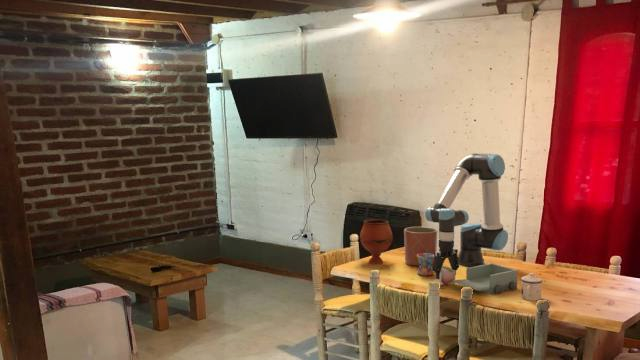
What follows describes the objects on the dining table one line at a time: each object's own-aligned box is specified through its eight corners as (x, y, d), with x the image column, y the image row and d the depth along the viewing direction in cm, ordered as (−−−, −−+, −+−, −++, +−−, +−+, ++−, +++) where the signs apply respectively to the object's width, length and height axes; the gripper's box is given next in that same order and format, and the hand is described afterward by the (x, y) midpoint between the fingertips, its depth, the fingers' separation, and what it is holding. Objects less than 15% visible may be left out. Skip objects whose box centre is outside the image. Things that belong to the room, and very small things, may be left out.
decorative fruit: (458, 284, 263) (458, 265, 262) (450, 288, 258) (450, 268, 257) (441, 280, 270) (442, 262, 269) (433, 284, 264) (433, 265, 263)
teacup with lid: (522, 293, 248) (523, 269, 247) (543, 296, 243) (543, 272, 242) (517, 300, 238) (517, 275, 236) (538, 304, 233) (539, 278, 232)
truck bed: (489, 279, 271) (489, 262, 271) (519, 288, 255) (520, 270, 254) (463, 284, 262) (464, 267, 262) (493, 295, 246) (494, 276, 245)
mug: (427, 277, 276) (427, 258, 275) (413, 274, 283) (413, 255, 282) (440, 273, 284) (440, 254, 283) (426, 270, 291) (426, 251, 290)
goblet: (394, 266, 299) (394, 223, 296) (361, 267, 299) (360, 224, 296) (390, 258, 318) (390, 218, 315) (359, 258, 318) (358, 218, 316)
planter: (430, 269, 293) (430, 234, 291) (398, 264, 303) (398, 230, 301) (441, 261, 309) (442, 228, 307) (411, 257, 319) (411, 225, 317)
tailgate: (466, 279, 260) (454, 280, 256) (489, 286, 247) (477, 287, 243) (465, 282, 260) (453, 283, 256) (488, 290, 247) (476, 291, 243)
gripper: (456, 236, 270) (455, 278, 272) (425, 240, 259) (424, 285, 262) (467, 238, 263) (466, 282, 266) (435, 243, 253) (434, 289, 255)
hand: (445, 283), depth 264 cm, fingers closed on decorative fruit, 8 cm apart
